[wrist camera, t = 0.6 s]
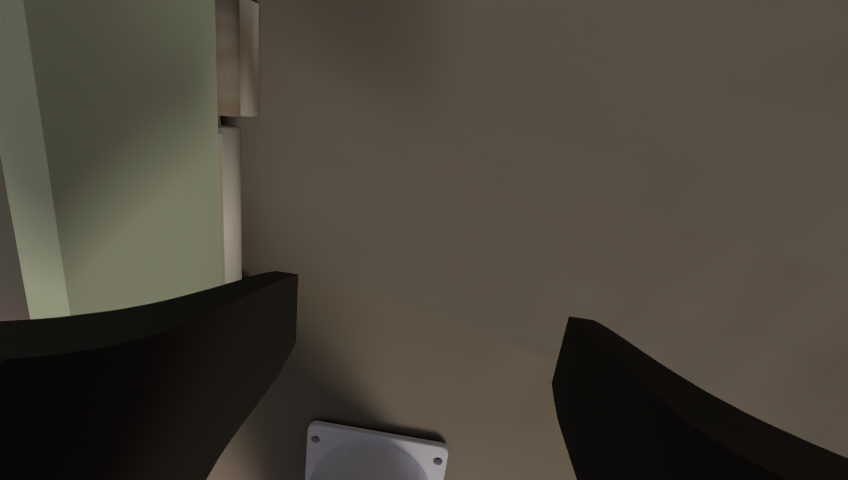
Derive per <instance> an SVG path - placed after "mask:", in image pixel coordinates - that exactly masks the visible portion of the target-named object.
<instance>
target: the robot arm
mask: <svg viewBox="0 0 848 480" xmlns="http://www.w3.org/2000/svg"><path fill="white" fill-rule="evenodd" d="M297 290H298V275H297V274H291V273H284V272H278V271H274V272H267V273H263V274H259V275H255V276H251V277H248V278H244V279H241V280H237V281H234V282H231V283H227V284H224V285H221V286H217V287H214V288H210V289H207V290H203V291H199V292H195V293H192V294H188V295H184V296H180V297H176V298H173V299H169V300H164V301H160V302H155V303H150V304H146V305H140V306H135V307H129V308H124V309H118V310H112V311H104V312H96V313H88V314H80V315H72V316H64V317H55V318H43V319H30V320H16V321H0V480H206V479H207V477H208V475H209V474H210V472H211V470H212V468H213V467H214V465H215V463H216V462H217V460H218V458H219V457H220V455H221V454H222V452H223V451H224V449H225V448H226V446H227V445H228V443H229V442H230V440H231V439H232V437H233V436H234V435H235V433H236V432H237V431H238V429H239V428H240V426H241V425H242V424H243V422H244V421H245V420H246V418H247V417H248V416H249V414H250V413H251V411H252V410H253V409H254V407H255V406H256V405H257V403H258V402H259V401H260V399H261V398H262V396H263V395H264V394H265V392H266V391H267V389H268V388H269V387H270V385H271V384H272V382H273V381H274V380H275V378H276V377H277V375H278V374H279V372H280V371H281V369H282V367H283V365H284V364H285V362H286V360H287V358H288V356H289V354H290V352H291V350H292V348H293V346H294V344H295V342H296V319H297ZM552 388H553V395H554V402H555V407H556V413H557V418H558V421H559V425H560V428H561V431H562V434H563V438H564V441H565V444H566V447H567V450H568V453H569V456H570V459H571V463H572V466H573V469H574V472H575V475H576V478H577V480H848V458H846V457H843V456H841V455H838V454H836V453H833V452H831V451H829V450H826V449H824V448H821V447H819V446H817V445H814V444H812V443H810V442H807V441H805V440H803V439H801V438H798V437H796V436H794V435H792V434H790V433H787V432H785V431H783V430H781V429H779V428H776V427H774V426H772V425H770V424H768V423H765V422H763V421H761V420H759V419H757V418H755V417H753V416H751V415H749V414H747V413H745V412H743V411H741V410H739V409H738V408H736V407H734V406H732V405H730V404H728V403H726V402H724V401H722V400H721V399H719V398H717V397H715V396H713V395H711V394H710V393H708V392H706V391H704V390H702V389H701V388H699V387H697V386H696V385H694V384H692V383H691V382H689V381H687V380H686V379H684V378H683V377H681V376H679V375H678V374H676V373H674V372H673V371H671V370H670V369H668V368H667V367H665V366H663V365H662V364H660V363H659V362H657V361H656V360H654V359H653V358H651V357H650V356H648V355H647V354H645V353H644V352H642V351H641V350H639V349H638V348H637V347H635V346H634V345H632V344H631V343H629V342H628V341H626V340H625V339H623V338H622V337H620V336H619V335H617V334H616V333H614V332H613V331H611V330H610V329H608V328H607V327H605V326H603V325H602V324H600V323H598V322H596V321H594V320H589V319H582V318H576V317H569V318H568V322H567V326H566V330H565V334H564V338H563V342H562V346H561V349H560V353H559V357H558V361H557V365H556V369H555V373H554V377H553V381H552ZM315 436H318V437H319V438H316V437H315ZM436 457H439V458H441V459H436ZM447 458H448V447H447V445H445V444H444V443H442V442H437V441H431V440H425V439H420V438H414V437H408V436H402V435H397V434H391V433H385V432H379V431H374V430H368V429H362V428H357V427H351V426H345V425H339V424H334V423H328V422H322V421H313V422H312V423H311V424H310V425H309V427H308V430H307V450H306V470H305V480H444V474H445V469H446V463H447Z"/></svg>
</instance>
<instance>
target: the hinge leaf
mask: <svg viewBox="0 0 848 480" xmlns="http://www.w3.org/2000/svg"><path fill="white" fill-rule="evenodd" d="M0 157H1V162H2V167H3V173H4V178H5V184H6V189H7V195H8V200H9V206H10V211H11V217H12V222H13V227H14V233H15V238H16V244H17V249H18V255H19V260H20V266H21V271H22V277H23V282H24V288H25V293H26V298H27V304H28V309H29V315H30V319H43V318H55V317H64V316H72V315H80V314H88V313H96V312H104V311H112V310H118V309H124V308H129V307H135V306H140V305H146V304H150V303H155V302H160V301H164V300H169V299H173V298H176V297H180V296H184V295H188V294H192V293H195V292H199V291H203V290H207V289H210V288H214V287H217V286H221V285H224V284H227V283H231V282H234V281H237V280H241V279H242V233H241V128H239V127H234V126H227V125H218V102H217V62H216V22H215V0H0Z"/></svg>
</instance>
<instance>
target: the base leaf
mask: <svg viewBox="0 0 848 480" xmlns="http://www.w3.org/2000/svg"><path fill="white" fill-rule="evenodd" d="M215 22H216V62H217V102H218V125H221V116H232V117H240V116H258V95H259V4H257V3H255V2H254V1H252V0H215Z"/></svg>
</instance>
